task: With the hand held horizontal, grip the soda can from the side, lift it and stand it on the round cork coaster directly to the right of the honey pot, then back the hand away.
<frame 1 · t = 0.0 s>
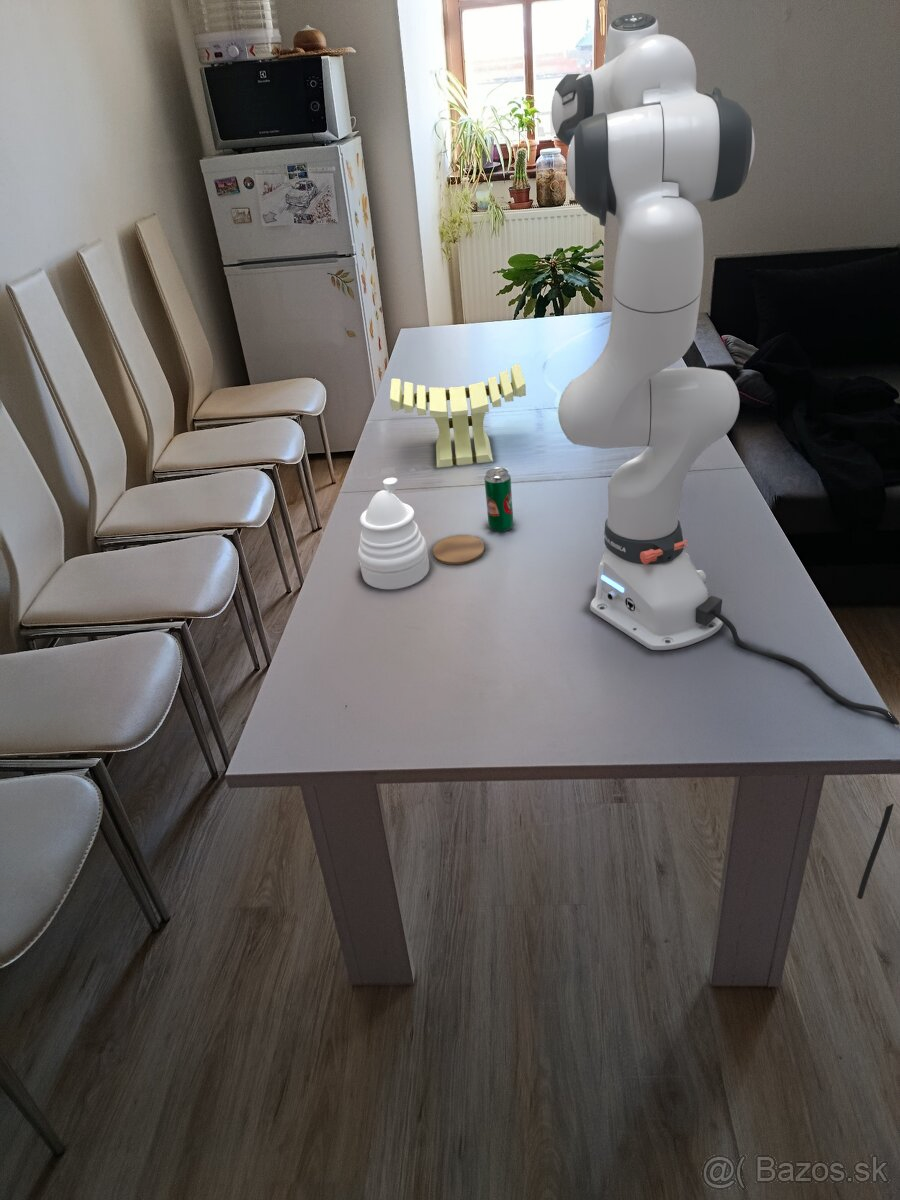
hand: (623, 190, 150), 54 cm above the table, tool tilted 30°, fingers open, 8 cm apart
slatted curved stool: (463, 451, 191), on the table
soda can: (501, 527, 160), on the table
cork coaster: (458, 550, 154), on the table
honey pot: (396, 570, 150), on the table
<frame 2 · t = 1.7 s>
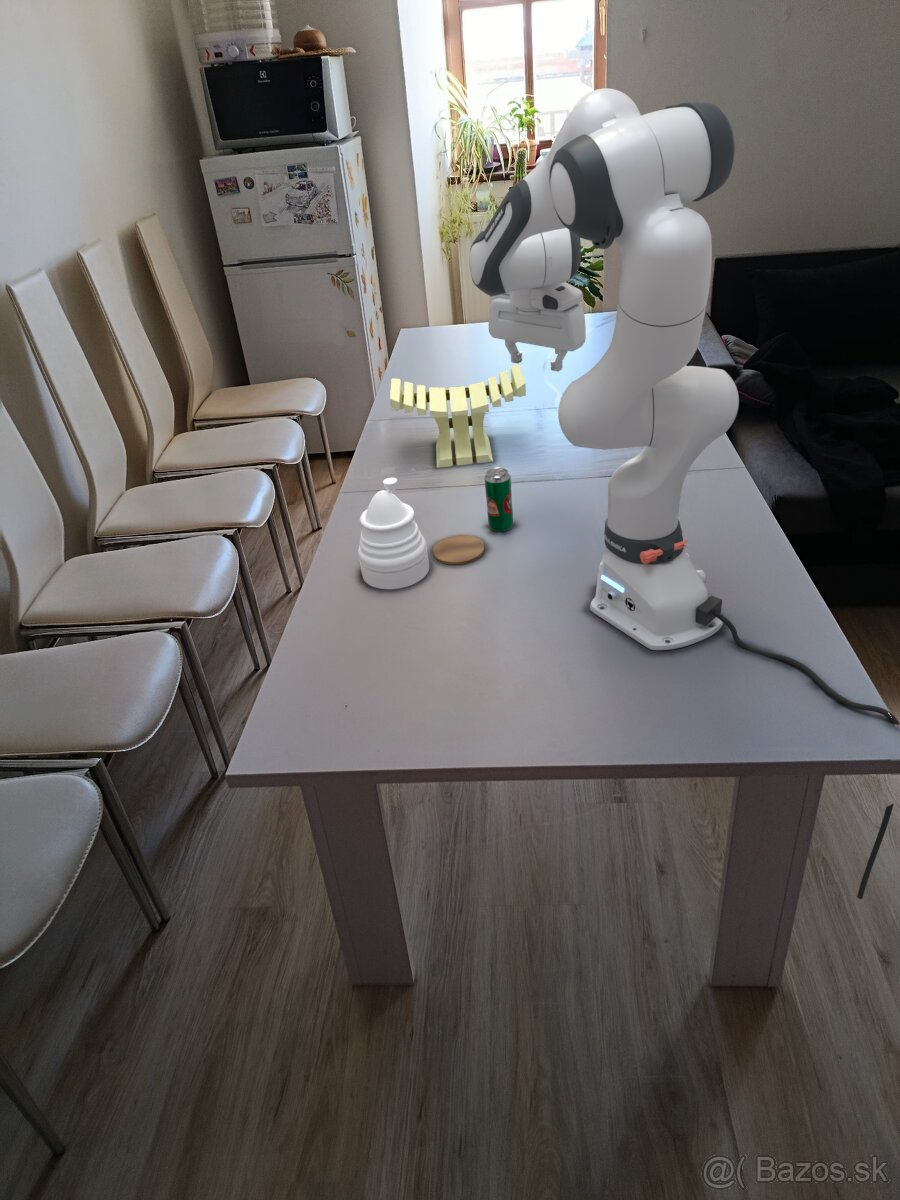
hand: (536, 366, 152), 28 cm above the table, tool pointing down, fingers open, 8 cm apart
nothing on the table moved.
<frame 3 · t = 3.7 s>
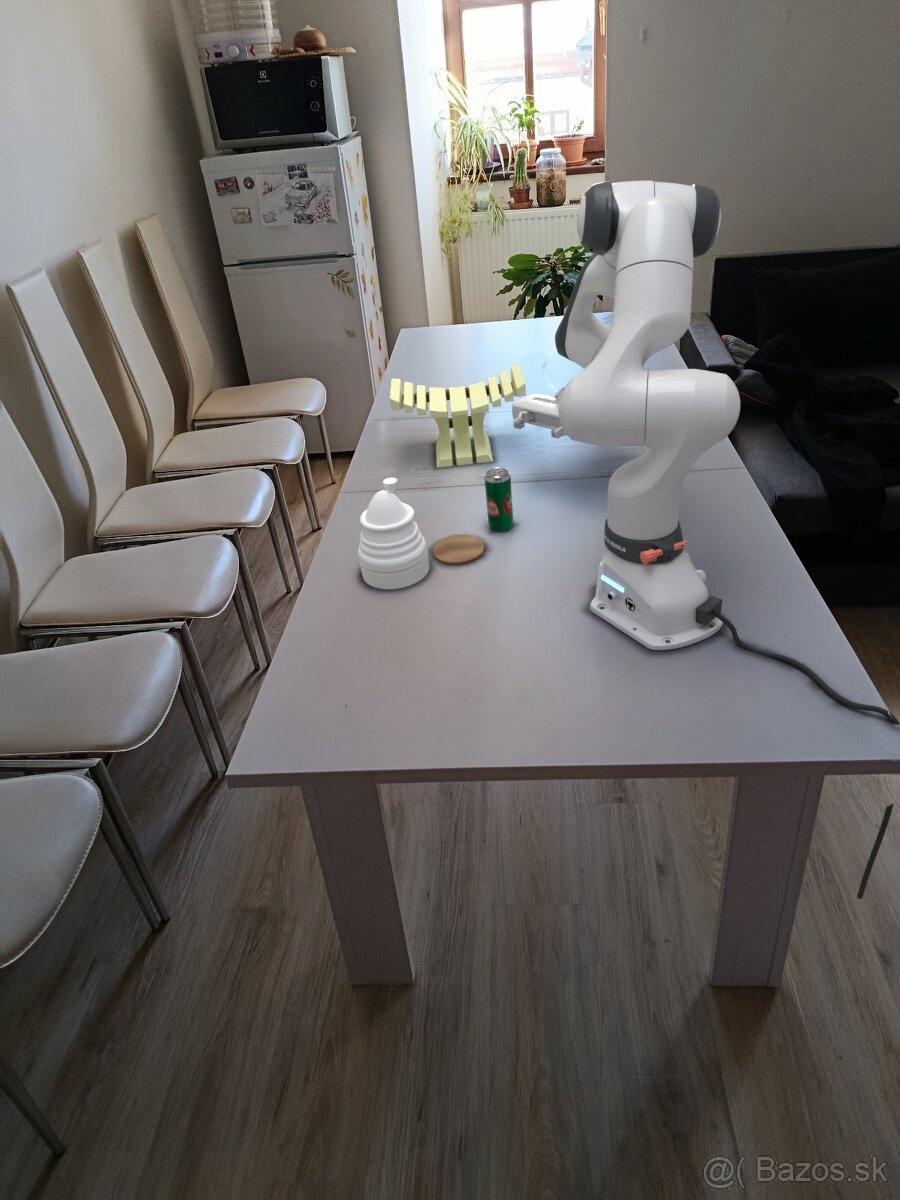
hand: (534, 429, 157), 16 cm above the table, tool horizontal, fingers open, 8 cm apart
nothing on the table moved.
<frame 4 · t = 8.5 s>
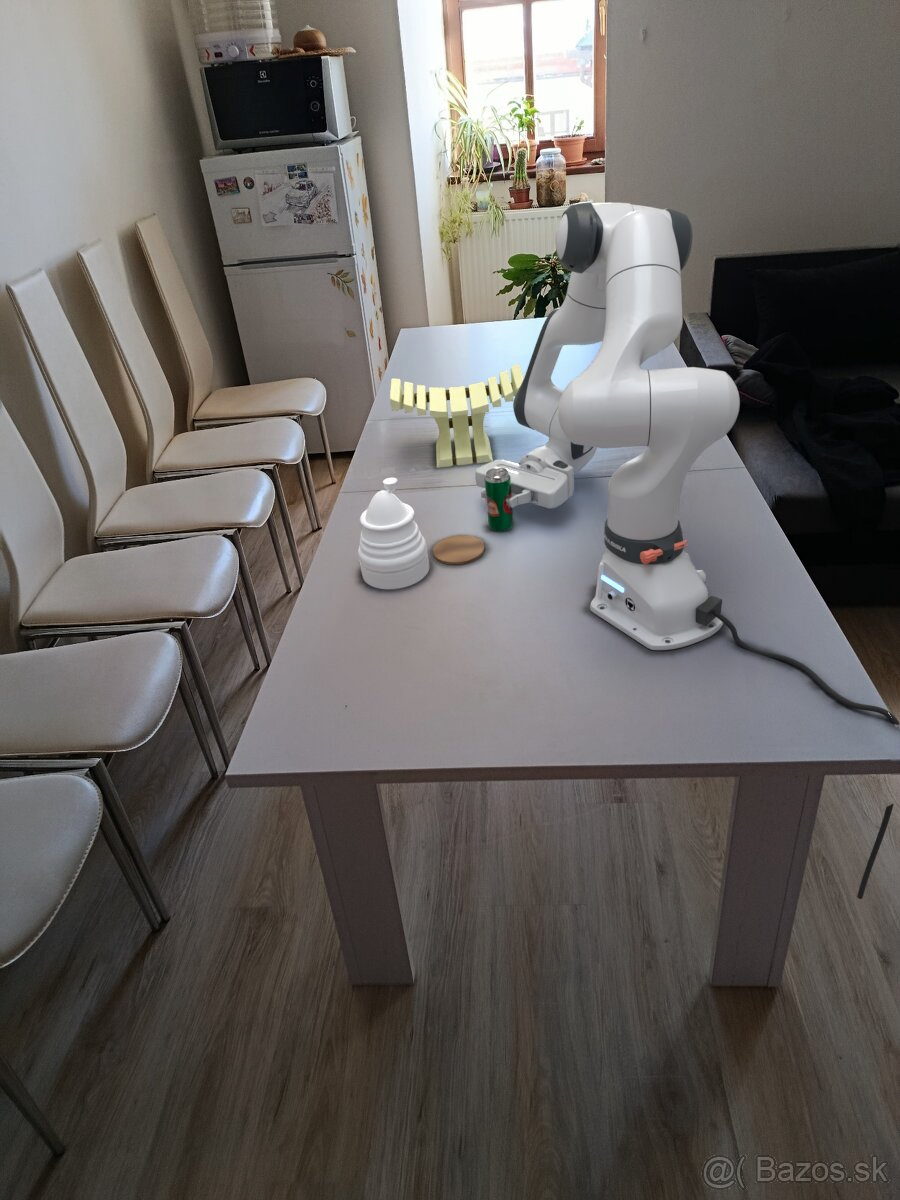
hand: (496, 499, 155), 7 cm above the table, tool horizontal, fingers closed on soda can, 5 cm apart
soda can: (501, 527, 160), on the table, touching gripper
everything else where it was.
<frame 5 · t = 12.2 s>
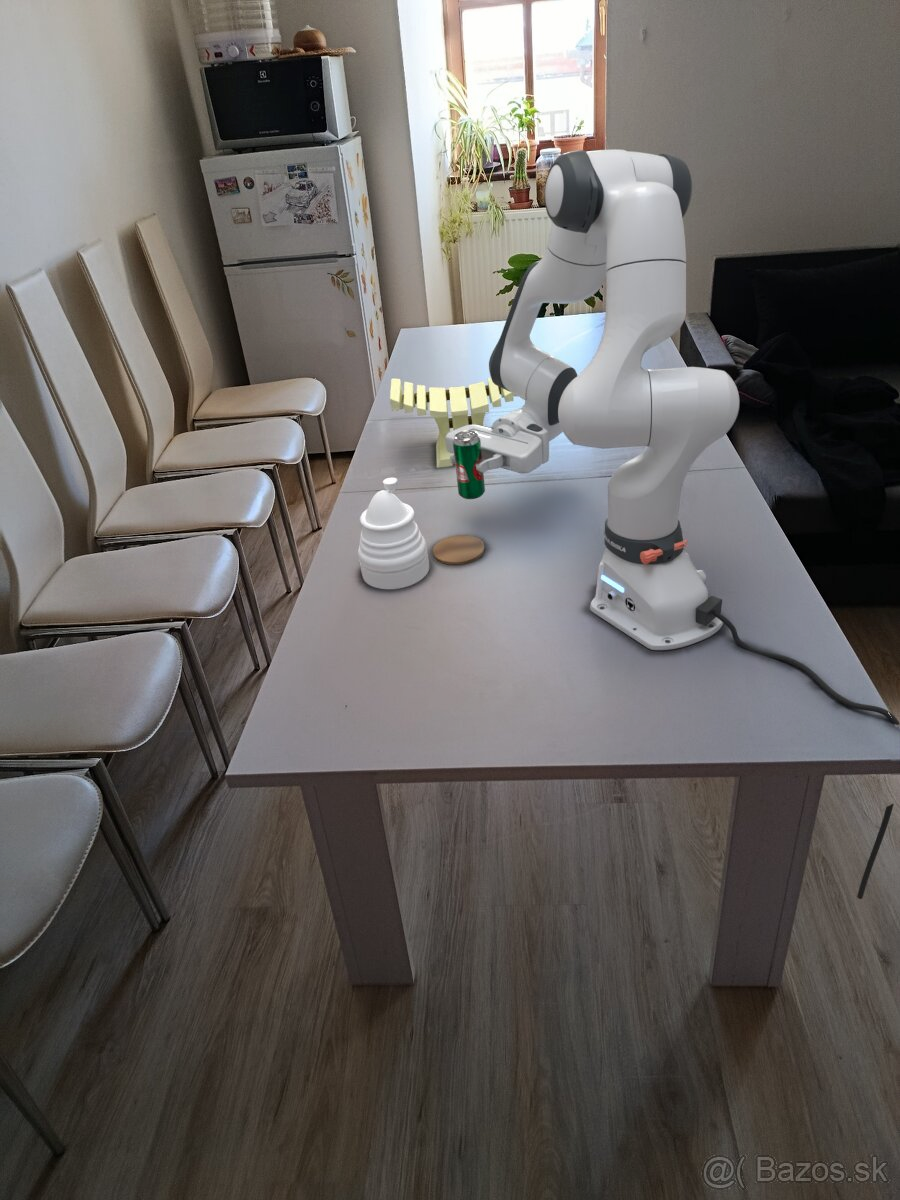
hand: (465, 464, 146), 17 cm above the table, tool horizontal, fingers closed on soda can, 5 cm apart
soda can: (472, 495, 150), point 10 cm above the table, touching gripper
everything else where it was.
when the fingers open (7 cm above the table, at t = 16.0 s): soda can stays where it is, resting on cork coaster.
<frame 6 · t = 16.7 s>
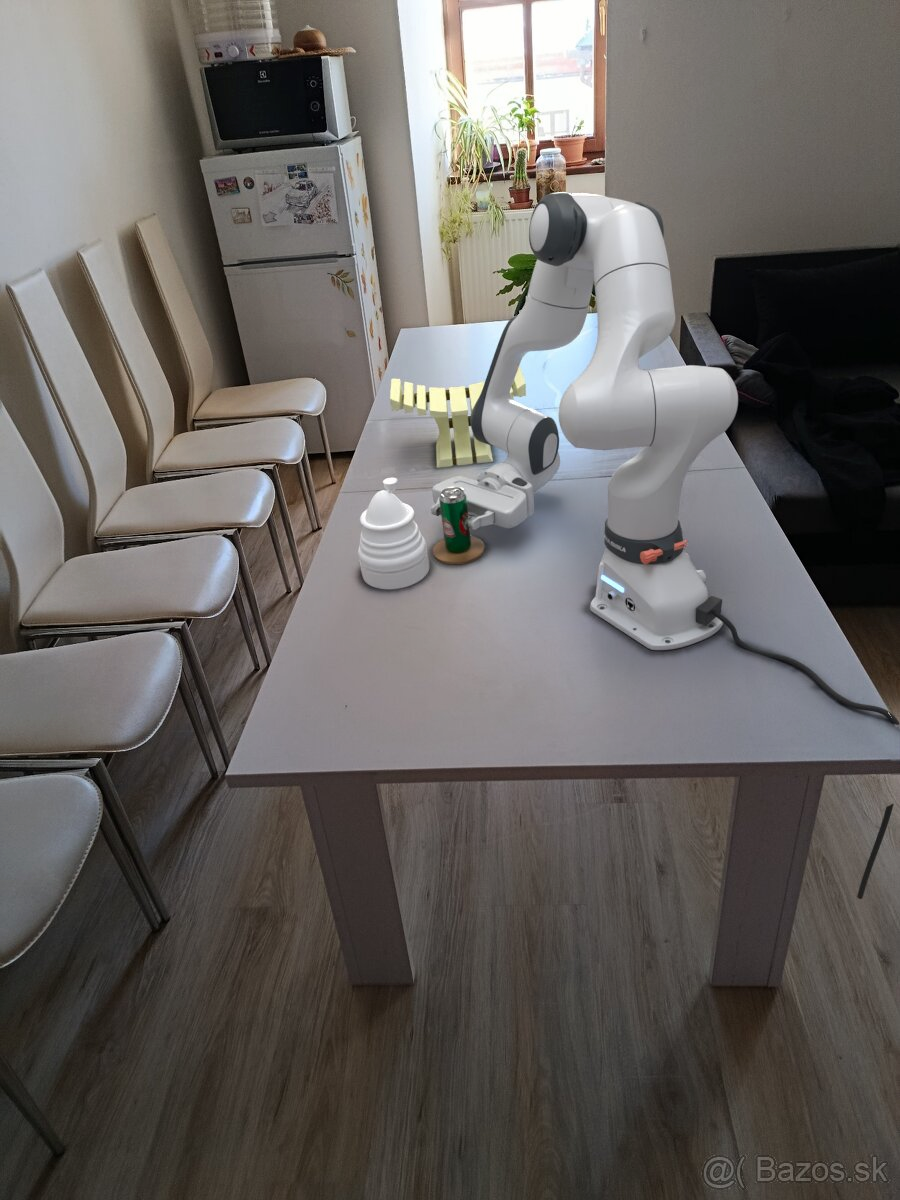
hand: (451, 518, 149), 8 cm above the table, tool horizontal, fingers open, 8 cm apart
soda can: (458, 548, 154), resting on cork coaster
everything else where it was.
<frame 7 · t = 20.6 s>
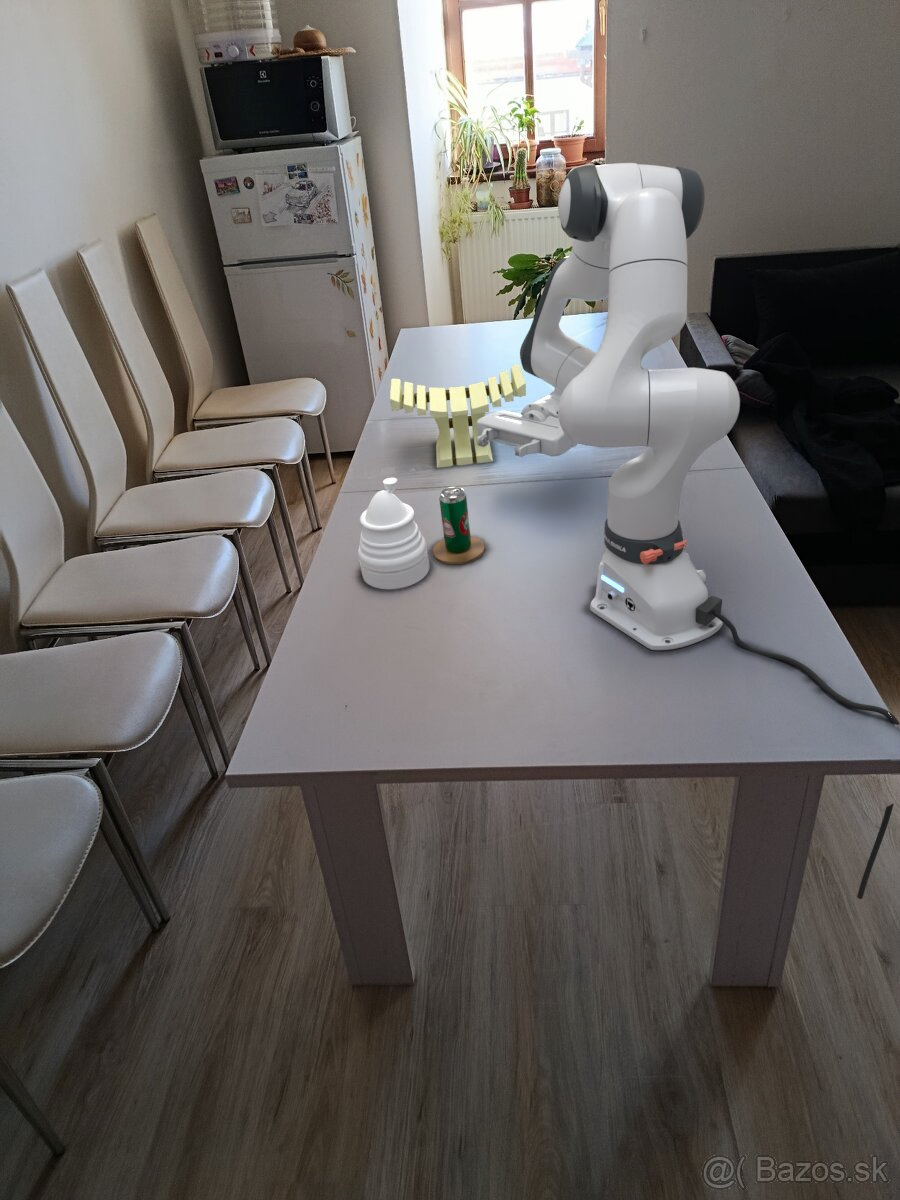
hand: (498, 447, 151), 16 cm above the table, tool horizontal, fingers open, 8 cm apart
nothing on the table moved.
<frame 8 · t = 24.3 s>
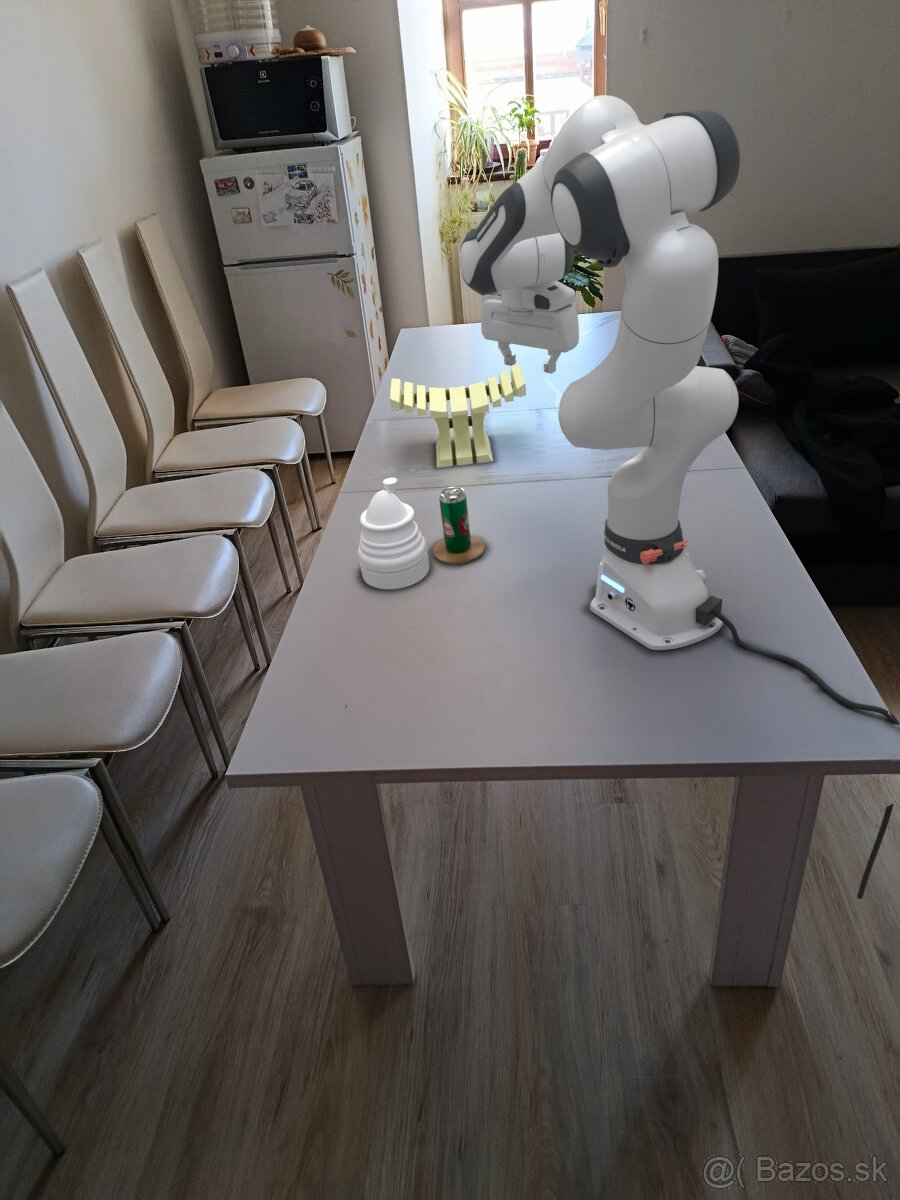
hand: (529, 368, 149), 29 cm above the table, tool pointing down, fingers open, 8 cm apart
nothing on the table moved.
at the end: soda can inside the target area on the table beside the honey pot (0.2 cm from its centre), point 0.6 cm above the table; soda can 0.3 cm from the cork coaster (horizontally); soda can tilted 0° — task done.
